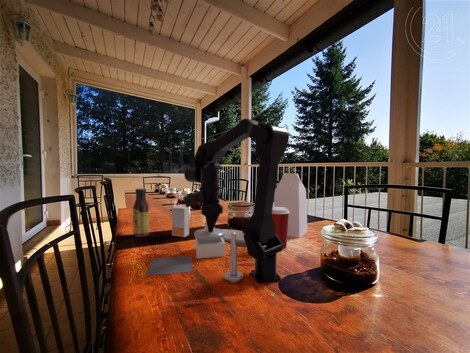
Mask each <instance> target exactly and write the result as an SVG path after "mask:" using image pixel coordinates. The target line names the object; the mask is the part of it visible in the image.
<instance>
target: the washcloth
mask: <svg viewBox="0 0 470 353" xmlns="http://www.w3.org/2000/svg"><path fill="white" fill-rule="evenodd" d="M221 229H222V230H224V231H225V236H224V237H223V239H224V241H225V242H228V243H229V244H230V243H231V233H232V232H234V233H236V242H237V243H236V244H237V246H243V247H247V246H246V243H245V240H244V233H242V232H243V230H237V229H227V228H221Z"/></svg>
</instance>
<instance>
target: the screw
mask: <svg viewBox="0 0 470 353" xmlns="http://www.w3.org/2000/svg"><path fill="white" fill-rule="evenodd" d="M236 243H237V242H236V233H234V232H232V233H231V243H229V251H230V252H229V256H230V257H229V265H230V266H229V270H228V271H226V272H225V273H224V274H223V278H224V279H225V280H226V281H228V282H229V283H232V284H234V283H235V284H236V283H238V282H239V281H241V280H243V278H244V274H243V272H242V271H240V270H238V245H237V244H236Z"/></svg>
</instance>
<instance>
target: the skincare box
mask: <svg viewBox="0 0 470 353" xmlns="http://www.w3.org/2000/svg"><path fill="white" fill-rule="evenodd" d="M171 235H172V237H181V238H185V237H188V235H190V207H186V206H173V207H171Z"/></svg>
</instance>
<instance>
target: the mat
mask: <svg viewBox="0 0 470 353" xmlns="http://www.w3.org/2000/svg"><path fill="white" fill-rule="evenodd" d="M192 259H193V258H192V255H183V256H182V255H181V256H180V255H179V256H169V257H168V256H166V257H153V258H151V260H150V262H149V263H150V264H149V265H148V268H147V271H146V274H145V276H147V277H149V276H157V275H159V276H160V275H169V274H180V273H181V274H183V273H184V274H185V273H192V272H193V260H192Z"/></svg>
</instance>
